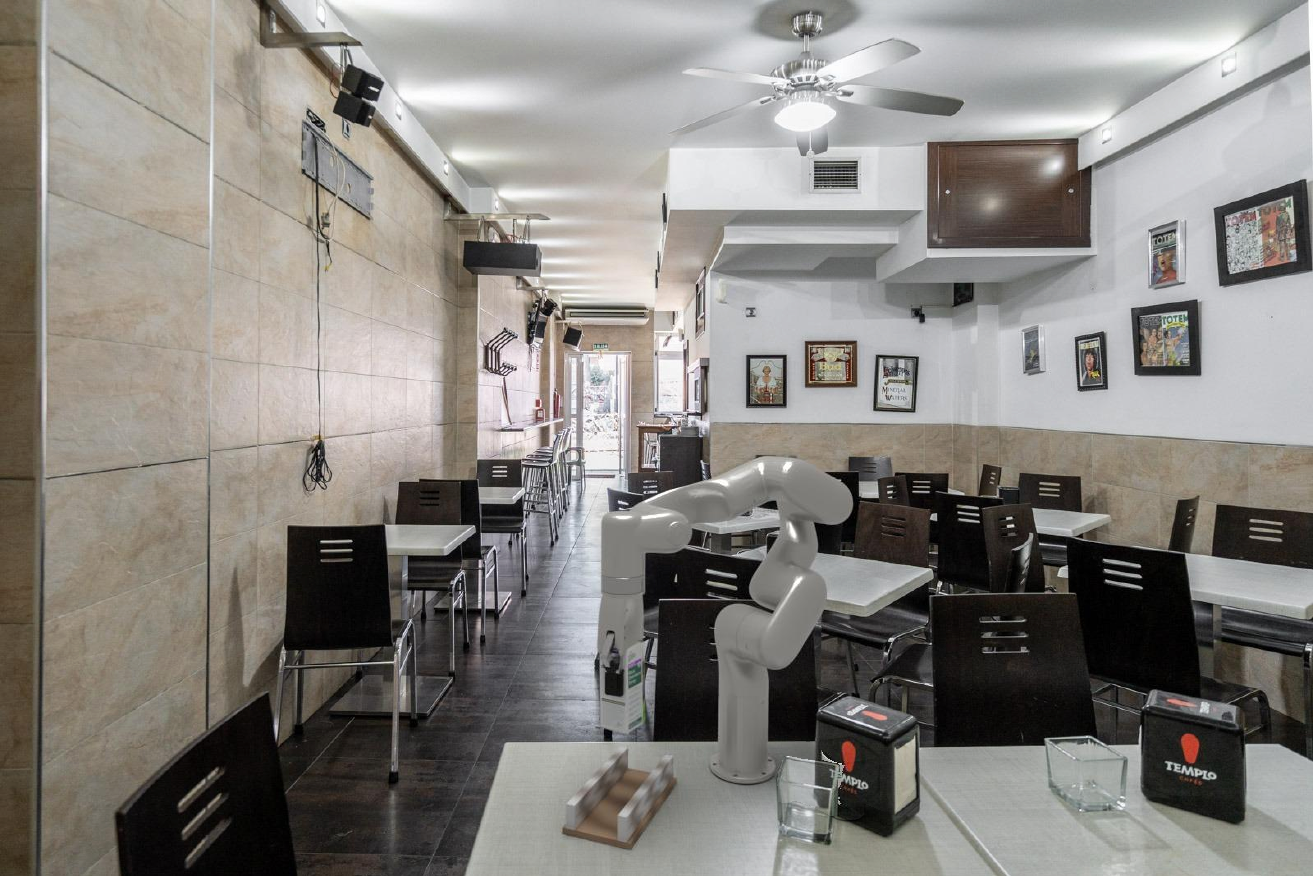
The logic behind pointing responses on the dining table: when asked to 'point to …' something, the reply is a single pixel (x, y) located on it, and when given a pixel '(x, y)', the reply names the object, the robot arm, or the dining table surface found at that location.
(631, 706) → the syrup box
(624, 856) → the dining table surface
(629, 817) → the track
